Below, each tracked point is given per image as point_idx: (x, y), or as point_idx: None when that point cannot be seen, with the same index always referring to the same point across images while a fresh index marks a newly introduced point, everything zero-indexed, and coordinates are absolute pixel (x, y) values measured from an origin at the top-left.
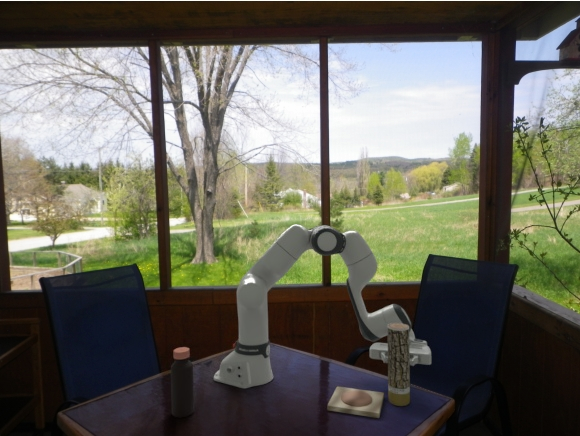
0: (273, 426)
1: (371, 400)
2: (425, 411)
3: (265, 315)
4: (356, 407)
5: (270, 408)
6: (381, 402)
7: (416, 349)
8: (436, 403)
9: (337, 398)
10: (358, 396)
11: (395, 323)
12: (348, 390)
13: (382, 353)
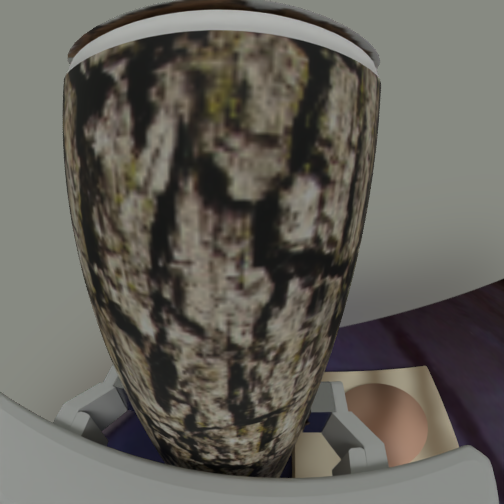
0: (449, 307)
1: None
2: (142, 431)
3: None
4: (361, 382)
5: (492, 340)
6: None
7: (17, 498)
8: None
9: (427, 404)
10: (380, 435)
11: (270, 18)
12: None
13: (371, 442)
